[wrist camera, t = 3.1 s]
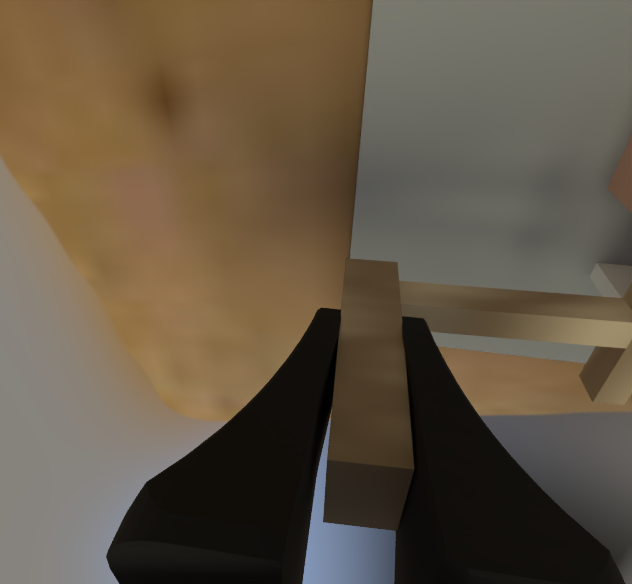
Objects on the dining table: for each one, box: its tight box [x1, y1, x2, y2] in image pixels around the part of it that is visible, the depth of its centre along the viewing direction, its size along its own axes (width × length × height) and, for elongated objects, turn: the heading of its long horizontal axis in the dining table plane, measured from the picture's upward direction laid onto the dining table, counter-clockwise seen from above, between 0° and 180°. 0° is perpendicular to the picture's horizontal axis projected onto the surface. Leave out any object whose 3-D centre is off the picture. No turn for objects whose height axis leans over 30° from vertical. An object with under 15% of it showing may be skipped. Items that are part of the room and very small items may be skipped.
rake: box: [323, 258, 632, 531], centre depth 11 cm, size 10×6×7 cm, turn 89°
